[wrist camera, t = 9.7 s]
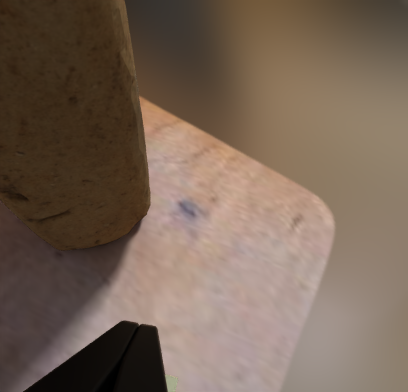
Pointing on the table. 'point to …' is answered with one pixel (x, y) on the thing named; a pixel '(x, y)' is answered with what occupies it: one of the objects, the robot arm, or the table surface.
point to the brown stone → (71, 121)
